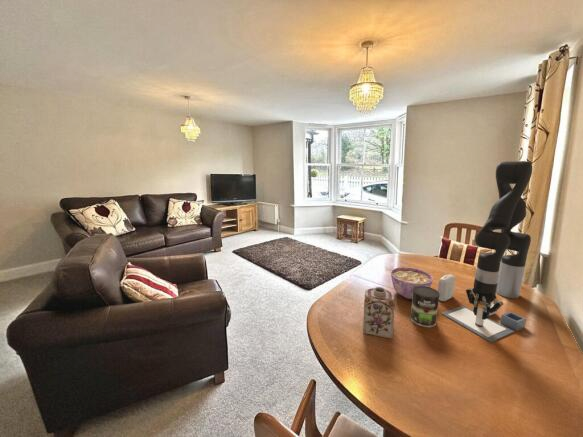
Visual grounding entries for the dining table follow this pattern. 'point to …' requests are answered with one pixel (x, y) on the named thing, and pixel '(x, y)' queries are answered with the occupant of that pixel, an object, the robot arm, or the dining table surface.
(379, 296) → the decorative jar
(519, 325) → the cup
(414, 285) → the bowl of food
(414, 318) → the coffee can
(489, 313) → the cup
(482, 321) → the marker
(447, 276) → the photo printer
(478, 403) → the dining table surface
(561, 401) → the dining table surface
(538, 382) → the dining table surface
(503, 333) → the writing board
